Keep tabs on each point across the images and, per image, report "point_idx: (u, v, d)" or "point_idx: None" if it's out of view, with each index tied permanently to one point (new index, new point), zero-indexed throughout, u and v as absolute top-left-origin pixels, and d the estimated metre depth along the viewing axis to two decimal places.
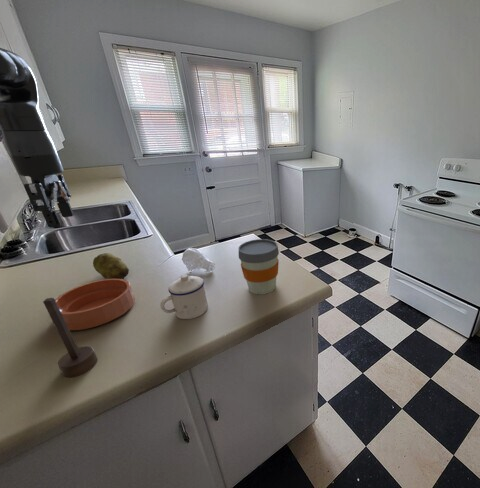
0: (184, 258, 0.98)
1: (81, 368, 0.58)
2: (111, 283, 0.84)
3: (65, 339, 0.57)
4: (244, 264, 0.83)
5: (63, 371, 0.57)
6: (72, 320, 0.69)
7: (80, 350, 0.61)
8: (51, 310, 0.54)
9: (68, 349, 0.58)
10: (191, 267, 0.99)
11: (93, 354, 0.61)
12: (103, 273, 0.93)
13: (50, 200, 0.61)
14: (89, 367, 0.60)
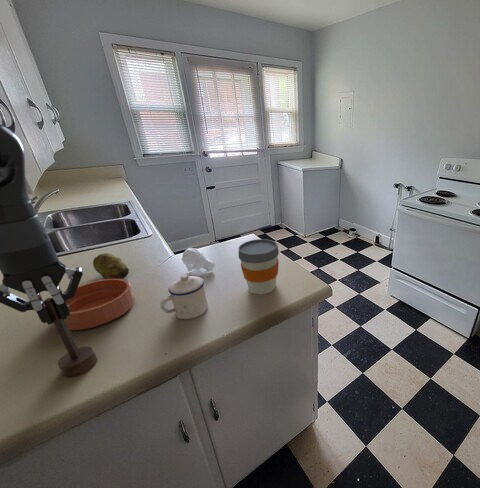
0: (184, 258, 0.98)
1: (81, 368, 0.58)
2: (111, 283, 0.84)
3: (65, 339, 0.57)
4: (244, 264, 0.83)
5: (63, 371, 0.57)
6: (72, 320, 0.69)
7: (80, 350, 0.61)
8: (51, 310, 0.54)
9: (68, 349, 0.58)
10: (191, 267, 0.99)
11: (93, 354, 0.61)
12: (103, 273, 0.93)
13: None
14: (89, 367, 0.60)
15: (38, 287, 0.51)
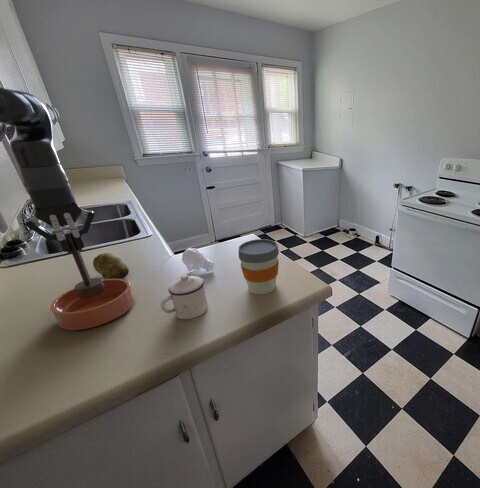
0: (184, 258, 0.98)
1: (93, 291, 0.74)
2: (111, 283, 0.84)
3: (80, 267, 0.72)
4: (244, 264, 0.83)
5: (79, 293, 0.73)
6: (72, 320, 0.69)
7: (91, 280, 0.77)
8: (70, 242, 0.70)
9: (82, 276, 0.73)
10: (191, 267, 0.99)
11: (102, 283, 0.76)
12: (103, 273, 0.93)
13: (55, 232, 0.67)
14: (99, 291, 0.75)
15: (61, 221, 0.67)
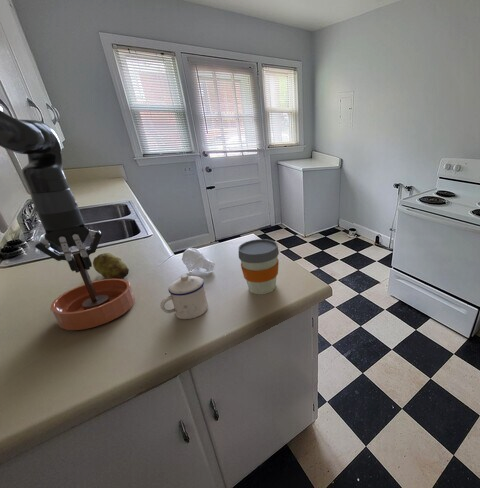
0: (184, 258, 0.98)
1: None
2: (111, 283, 0.84)
3: (88, 285, 0.75)
4: (244, 264, 0.83)
5: None
6: (72, 320, 0.69)
7: (98, 297, 0.79)
8: (78, 261, 0.72)
9: (90, 294, 0.76)
10: (191, 267, 0.99)
11: (108, 299, 0.79)
12: (103, 273, 0.93)
13: None
14: None
15: (69, 242, 0.69)
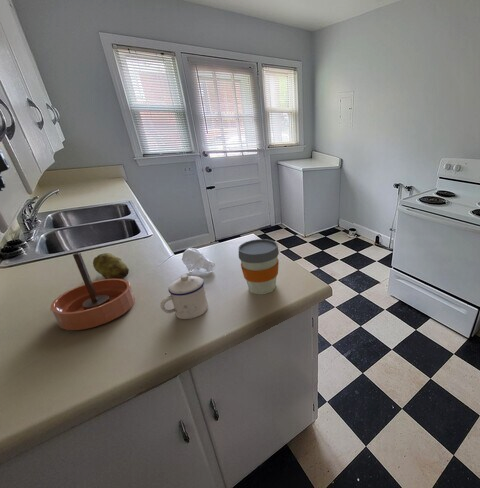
0: (184, 258, 0.98)
1: None
2: (111, 283, 0.84)
3: (88, 286, 0.75)
4: (244, 264, 0.83)
5: None
6: (72, 320, 0.69)
7: (98, 297, 0.79)
8: (78, 262, 0.72)
9: (90, 294, 0.76)
10: (191, 267, 0.99)
11: (108, 300, 0.79)
12: (103, 273, 0.93)
13: None
14: None
15: None
